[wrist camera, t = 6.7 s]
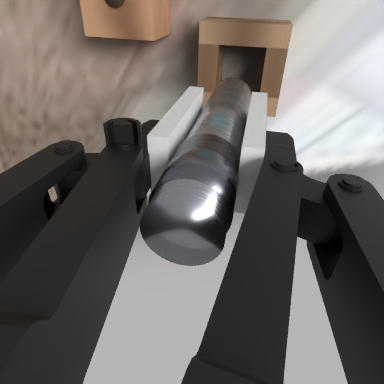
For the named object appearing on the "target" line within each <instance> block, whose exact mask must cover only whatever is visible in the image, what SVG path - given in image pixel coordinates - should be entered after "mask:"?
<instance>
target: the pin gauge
mask: <svg viewBox="0 0 384 384" xmlns="http://www.w3.org/2000/svg"><path fill="white" fill-rule="evenodd" d="M250 101H251V91H250V88H249V86H248V85H247V84H246V83H245V82H244V81H243V80H241V79H238V78H227V79H224V80H223V81H221V82H220V83H219V84H218V85H217V86H216V88H215V90H214V92H213V93H212V95H211V97H210V99H209V100H208V102H207V104H206V105H205V107H204V109H203V111H202V112H201V114H200V116H199V118H198V119H197V121H196V123H195V124H194V126H193V128H192V130H191V131H190V133H189V135H188V137H187V138H186V140H184V141H183V142H182V143H181V144H180V146H179V147H178V149H177V150H176V152H175V154H174V155H173V157H172V159H171V160H170V162H169V164H168V165H167V167H166V169H165V170H164V172H163V174H162V175H161V177H160V179H159V180H158V182H157V184H156V185H155V187H154V189H153V190H152V192H151V194H150V197H149V204H148V206H147V208H146V209H145V211H144V213H143V214H142V217H141V220H140V231H141V234H142V237H143V239H144V241H145V242H146V244H147V245H148V246H149V247H150V249H151V250H153V251H154V252H155V253H156V254H157V255H159V256H161V257H162V258H164V259H166V260H168V261H170V262H173V263H176V264H180V265H188V266H195V265H202V264H206V263H208V262H210V261H212V260H214V259H215V258H216V257H218V255H219V254H220V253H221V251H222V250H223V247H224V243H225V238H226V233H227V232H228V230H229V228H230V226H231V223H232V219H233V213H234V207H235V201H236V195H237V189H238V184H239V176H238V172H239V164H240V157H241V149H242V143H243V138H244V133H245V127H246V122H247V117H248V112H249V106H250Z"/></svg>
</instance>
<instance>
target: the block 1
mask: <svg viewBox="0 0 384 384" xmlns="http://www.w3.org/2000/svg"><path fill="white" fill-rule="evenodd" d="M80 7H81V13H82V19H83V26H84V32H85V36H91V37H105V38H119V39H133V40H147V41H155V40H157V39H160V38H162V37H164V36H167V35H169V34H170V0H80Z"/></svg>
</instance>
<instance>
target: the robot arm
mask: <svg viewBox="0 0 384 384" xmlns="http://www.w3.org/2000/svg"><path fill="white" fill-rule="evenodd" d="M203 91H204V87H192V86H189V88H188V89H187V90H186V91H185V92H184V93H183V94H182V96H181V97H180V98H179V99H178V100H177V101H176V103H175V104H174V105H173V106H172V107H171V108H170V110H169V111H168V112H167V113H166V114H165V115H164V117H163V118H162V119H161V120H149V121H147V122H145V123H143V124H142V125H141V123H140V122H139V121H138V120H135V119H132V118H116V119H111V120H108V121H106V122H105V123H103V126H104V132H105V138H106V147H105V148H104V149H103V150H102V152H101V153H87V154H85V150H84V146H83V145H82V144H81V143H79V142H76V141H70V140H66V141H60V142H58V143H54V144H52V145H50V146H48V147H46V148H44V149H43V150H41V151H39V152H37V153H36V154H34V155H32V156H30V157H29V158H27V159H25V160H24V161H22V162H20V163H18V164H17V165H15V166H13V167H11V168H10V169H8V170H6V171H4V172H3V173H1V174H0V384H83V381H84V378H85V375H86V372H87V369H88V367H89V364H90V361H91V358H92V356H93V353H94V350H95V347H96V345H97V342H98V339H99V336H100V333H101V331H102V328H103V325H104V322H105V320H106V317H107V314H108V311H109V309H110V306H111V303H112V300H113V298H114V295H115V292H116V289H117V286H118V284H119V281H120V278H121V275H122V273H123V270H124V267H125V264H126V262H127V259H128V256H129V253H130V251H131V248H132V245H133V242H134V239H135V237H136V234H137V231H138V228H139V226H140V220H141V217H142V214H143V213H144V211H145V209H146V206H147V196H146V194H147V193H148V191H149V189H150V188H151V192H152V190H153V189H154V187H155V185H156V184H157V182H158V180H159V179H160V177H161V175H162V174H163V172H164V170H165V169H166V167H167V165H168V164H169V162H170V160H171V159H172V157H173V155H174V154H175V152H176V150H177V149H178V147H179V146H180V144H181V143H182V142H183V141H184V140H186V138H187V137H188V135H189V133H190V131H191V130H192V128H193V126H194V124H195V123H196V121H197V119H198V118H199V116H200V114H201V112H202V111H203ZM266 119H267V93H262V92H252V96H251V101H250V106H249V112H248V117H247V122H246V127H245V133H244V138H243V143H242V149H241V157H240V164H239V172H238V176H239V184H238V189H237V195H236V201H235V207H234V212H237V213H244V214H245V216H244V219H243V222H242V224H241V227H240V230H239V233H238V236H237V239H236V242H235V245H234V248H233V251H232V254H231V257H230V260H229V263H228V266H227V268H226V271H225V274H224V277H223V280H222V283H221V286H220V289H219V292H218V295H217V298H216V301H215V304H214V307H213V310H212V313H211V315H210V318H209V321H208V324H207V328H206V330H205V333H204V336H203V339H202V342H201V345H200V347H199V350H198V352H197V354H196V355H195V356H194V357H193V358H192V359H191V362H190V364H189V365H188V368H187V370H186V373H185V375H184V378H183V380H182V383H181V384H283V381H284V368H285V357H286V347H287V337H288V326H289V316H290V305H291V294H292V284H293V274H294V264H295V253H296V241H297V237H300V238H302V239H305V240H307V248H308V251H309V254H310V258H311V261H312V265H313V268H314V271H315V275H316V278H317V281H318V285H319V288H320V292H321V295H322V298H323V302H324V305H325V308H326V312H327V315H328V318H329V322H330V325H331V328H332V332H333V335H334V339H335V342H336V345H337V349H338V352H339V355H340V359H341V362H342V365H343V369H344V372H345V375H346V379H347V382H348V384H384V200H383V199H382V197H381V196H380V194H379V193H378V192H377V190H376V189H375V188H374V186H372V185H371V184H370V183H369V182H368V181H366V180H364V179H362V178H361V177H358V176H355V175H351V174H350V175H348V174H335V175H332V176H330V177H329V179H328V181H327V183H323V182H320V181H317V180H314V179H311V178H309V177H307V176H305V175H304V174H303V166H302V165H301V164H300V163H299V162H297V160H296V153H295V146H294V140H293V138H292V137H291V136H290V135H289V134H288V133H281V132H272V131H266ZM53 186H54V187H55V191H56V194H57V199H56V200H55V201H53V202H52V201H51V200H50V196H49V193H48V190H49V189H50V188H51V187H53Z"/></svg>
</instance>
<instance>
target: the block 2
mask: <svg viewBox="0 0 384 384" xmlns="http://www.w3.org/2000/svg"><path fill="white" fill-rule="evenodd" d="M292 26H293V25H292V23H291V22H290V21H289V20H266V19H243V18H220V17H207V18H205V19H202V20H200V21H199V51H198V82H197V87H204V91H203V109H204V107H205V105H206V104H207V102H208V100H209V99H210V97H211V95H212V93H213V92H214V90H215V88H216V86H217V85H218V84H219V83H220V82H221V79H222V66H223V53H224V45H232V46H249V47H266V52H265V58H264V65H263V72H262V78H261V85H258V84H247V85H248V86H249V88H250V91H251V96H252V92H262V93H267V116H272V117H275V114H276V109H277V104H278V99H279V94H280V88H281V83H282V78H283V73H284V67H285V62H286V57H287V52H288V46H289V41H290V36H291V31H292Z"/></svg>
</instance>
